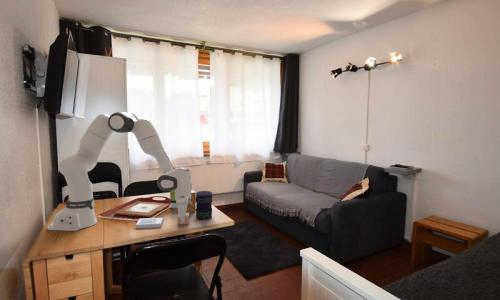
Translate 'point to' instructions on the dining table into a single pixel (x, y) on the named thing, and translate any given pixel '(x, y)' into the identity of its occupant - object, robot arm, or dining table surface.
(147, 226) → the white flat box
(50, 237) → the dining table surface
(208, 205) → the storage jar
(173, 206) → the tea box
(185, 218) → the stub
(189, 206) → the small box
